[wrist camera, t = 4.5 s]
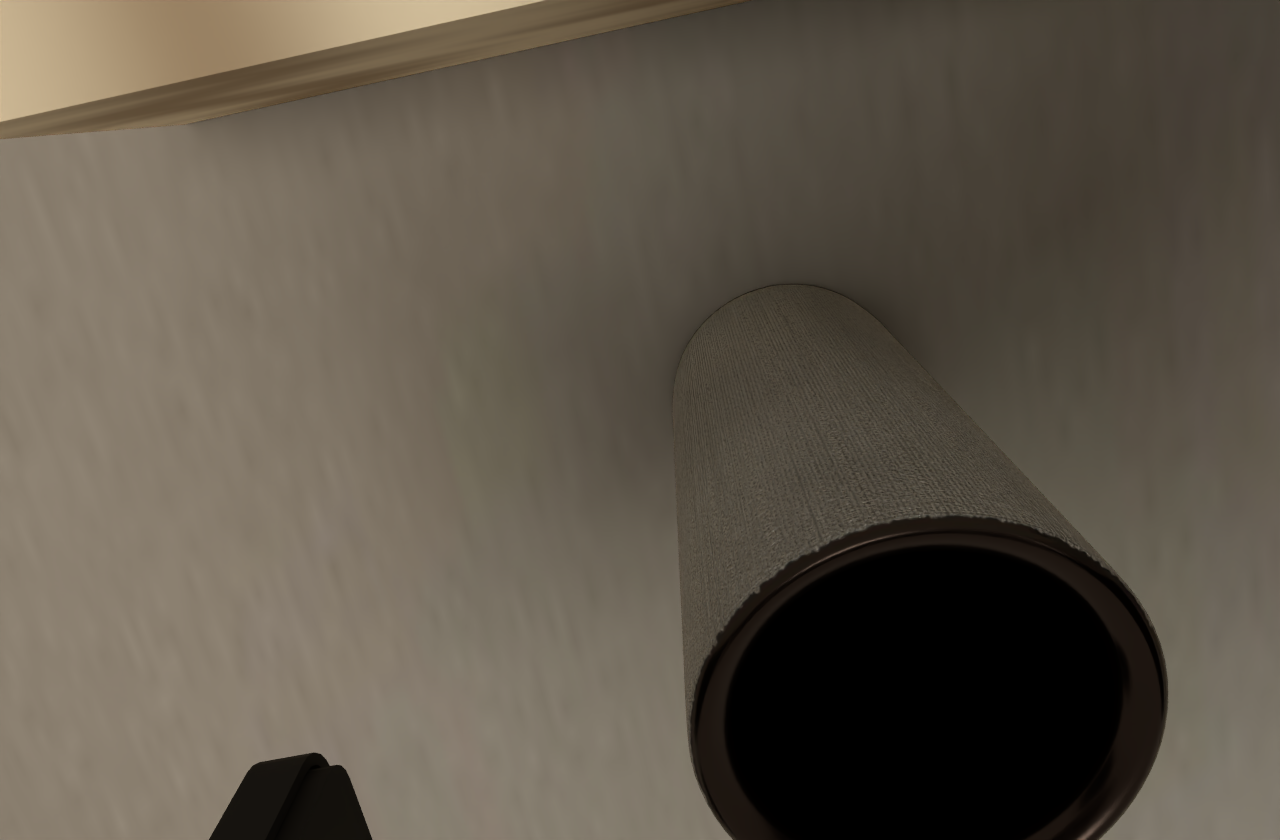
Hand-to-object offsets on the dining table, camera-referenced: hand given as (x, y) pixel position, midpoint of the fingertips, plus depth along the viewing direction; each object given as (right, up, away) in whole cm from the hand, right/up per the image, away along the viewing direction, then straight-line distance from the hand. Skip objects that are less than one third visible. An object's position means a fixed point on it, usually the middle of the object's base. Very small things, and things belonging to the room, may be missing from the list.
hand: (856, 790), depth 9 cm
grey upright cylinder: (+1, +4, +10) cm, 11 cm away
